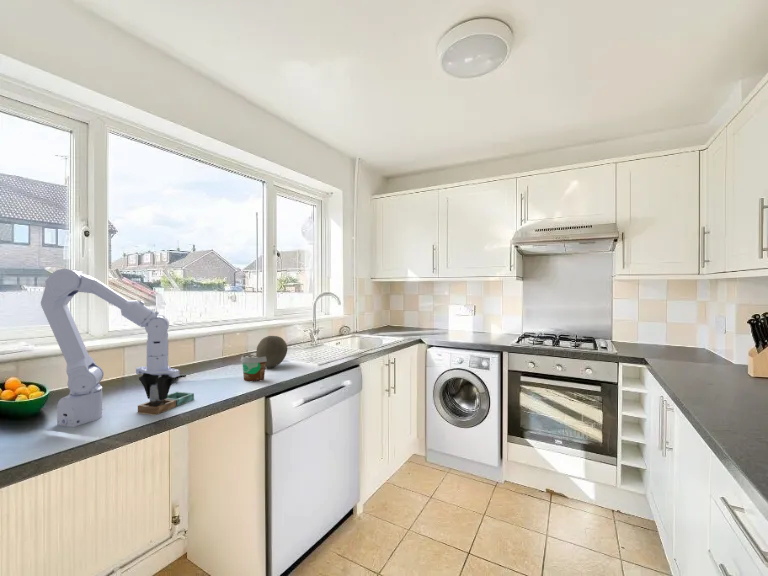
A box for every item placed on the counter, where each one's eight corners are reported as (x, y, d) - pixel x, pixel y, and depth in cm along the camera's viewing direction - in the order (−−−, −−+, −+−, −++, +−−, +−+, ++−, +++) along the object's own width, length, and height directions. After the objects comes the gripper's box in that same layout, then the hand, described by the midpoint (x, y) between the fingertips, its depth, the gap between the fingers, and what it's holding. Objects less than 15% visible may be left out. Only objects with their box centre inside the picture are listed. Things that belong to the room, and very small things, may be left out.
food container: (233, 379, 149) (234, 355, 149) (245, 376, 154) (246, 353, 154) (255, 383, 143) (255, 359, 143) (266, 380, 149) (266, 356, 148)
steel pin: (157, 412, 108) (157, 385, 108) (146, 410, 109) (146, 384, 109) (167, 407, 112) (168, 382, 112) (157, 406, 113) (157, 381, 113)
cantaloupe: (278, 371, 164) (279, 338, 164) (250, 369, 166) (250, 337, 166) (291, 364, 178) (291, 334, 178) (265, 363, 180) (265, 333, 180)
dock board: (155, 418, 106) (155, 408, 106) (136, 415, 108) (136, 406, 108) (194, 401, 121) (194, 393, 121) (177, 399, 123) (177, 391, 123)
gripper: (187, 353, 113) (186, 396, 113) (149, 351, 116) (149, 392, 116) (168, 358, 106) (168, 403, 106) (129, 355, 109) (129, 399, 109)
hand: (157, 398), depth 111 cm, fingers closed on steel pin, 4 cm apart
